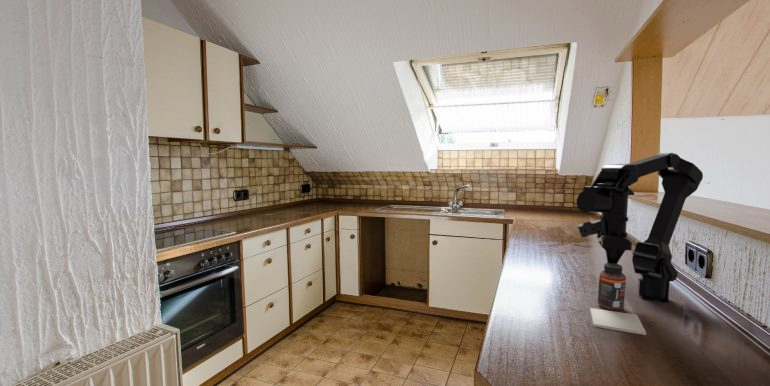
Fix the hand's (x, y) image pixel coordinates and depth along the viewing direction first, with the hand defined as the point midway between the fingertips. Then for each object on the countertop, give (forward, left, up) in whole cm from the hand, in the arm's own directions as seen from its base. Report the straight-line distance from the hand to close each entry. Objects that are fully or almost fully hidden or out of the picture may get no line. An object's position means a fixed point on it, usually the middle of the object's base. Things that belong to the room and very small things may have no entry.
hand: (610, 269), depth 99 cm
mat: (0, +13, -9) cm, 16 cm away
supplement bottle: (0, +2, -9) cm, 10 cm away
